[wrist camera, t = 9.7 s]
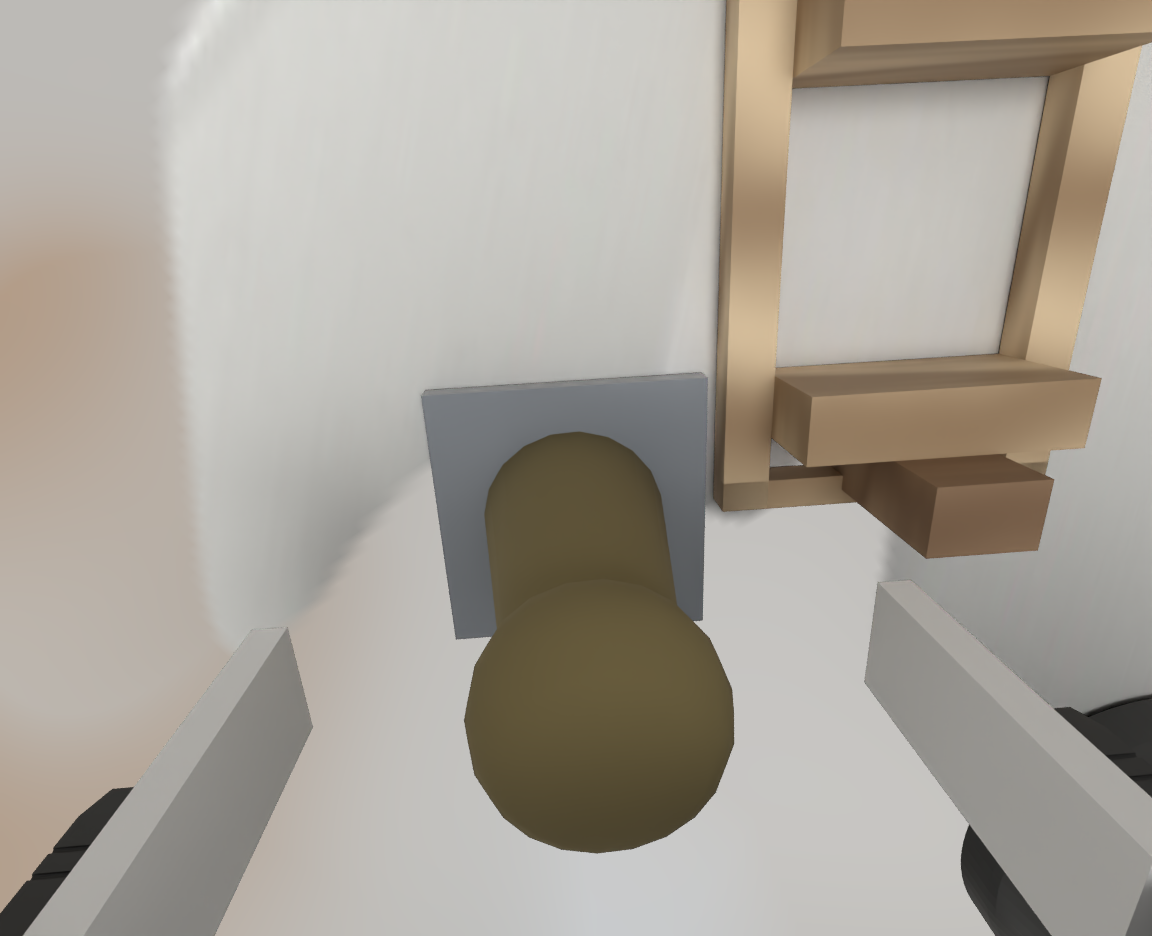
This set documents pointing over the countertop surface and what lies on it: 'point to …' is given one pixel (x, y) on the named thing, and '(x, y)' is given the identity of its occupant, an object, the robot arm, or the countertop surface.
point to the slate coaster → (533, 411)
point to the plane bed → (930, 385)
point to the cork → (591, 657)
